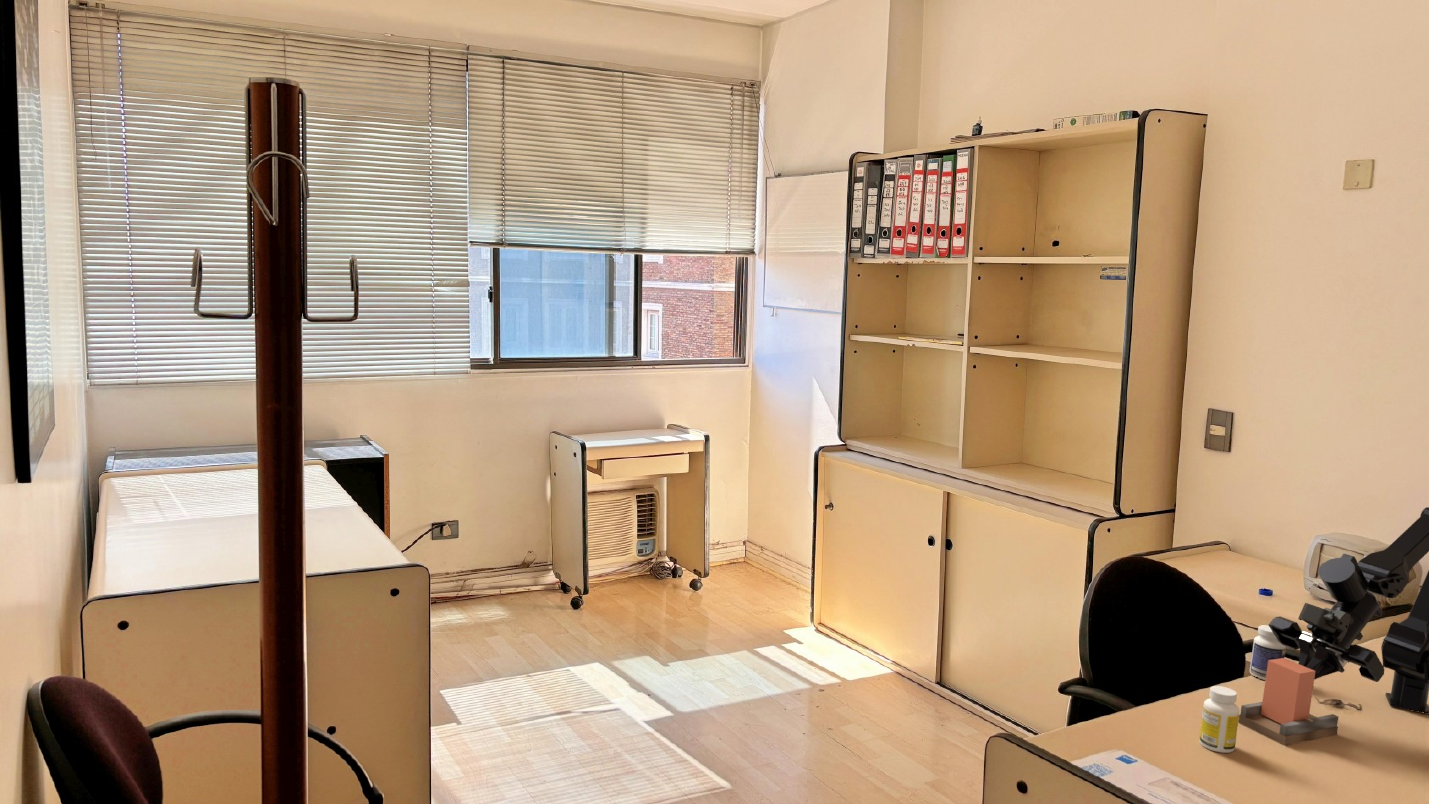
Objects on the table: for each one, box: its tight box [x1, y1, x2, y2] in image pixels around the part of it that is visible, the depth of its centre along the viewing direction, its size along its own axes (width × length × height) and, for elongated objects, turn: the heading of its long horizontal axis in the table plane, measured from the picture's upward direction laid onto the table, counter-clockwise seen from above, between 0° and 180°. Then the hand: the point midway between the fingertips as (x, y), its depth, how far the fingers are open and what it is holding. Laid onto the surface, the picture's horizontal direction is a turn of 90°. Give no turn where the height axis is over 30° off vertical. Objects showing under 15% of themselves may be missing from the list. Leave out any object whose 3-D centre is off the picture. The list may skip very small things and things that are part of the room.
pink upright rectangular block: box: [1261, 658, 1315, 724], centre depth 177 cm, size 4×6×10 cm, turn 24°
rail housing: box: [1238, 701, 1339, 746], centre depth 178 cm, size 14×9×4 cm, turn 114°
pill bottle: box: [1249, 624, 1287, 681], centre depth 202 cm, size 6×6×10 cm
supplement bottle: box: [1199, 685, 1240, 754], centre depth 169 cm, size 5×5×10 cm
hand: (1297, 683), depth 178 cm, fingers closed, pressing on pink upright rectangular block
